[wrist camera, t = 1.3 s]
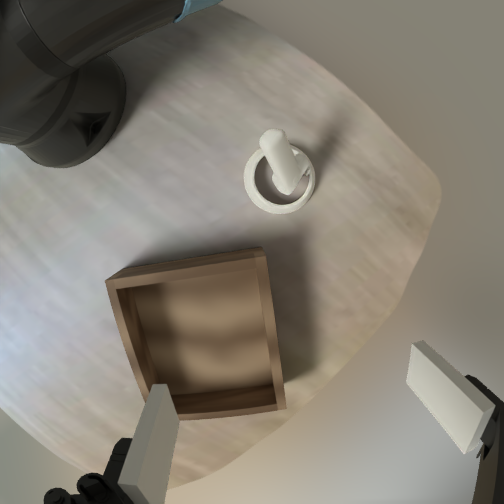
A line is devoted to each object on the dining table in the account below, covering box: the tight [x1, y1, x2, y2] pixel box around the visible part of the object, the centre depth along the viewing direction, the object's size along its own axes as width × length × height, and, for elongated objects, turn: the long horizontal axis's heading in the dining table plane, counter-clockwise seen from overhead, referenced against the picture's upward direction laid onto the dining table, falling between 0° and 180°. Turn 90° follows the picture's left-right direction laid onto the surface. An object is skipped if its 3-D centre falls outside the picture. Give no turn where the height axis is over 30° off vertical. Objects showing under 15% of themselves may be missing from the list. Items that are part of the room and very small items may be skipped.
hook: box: [244, 129, 315, 214], centre depth 28 cm, size 8×12×7 cm
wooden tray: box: [105, 247, 287, 421], centre depth 32 cm, size 18×16×5 cm
